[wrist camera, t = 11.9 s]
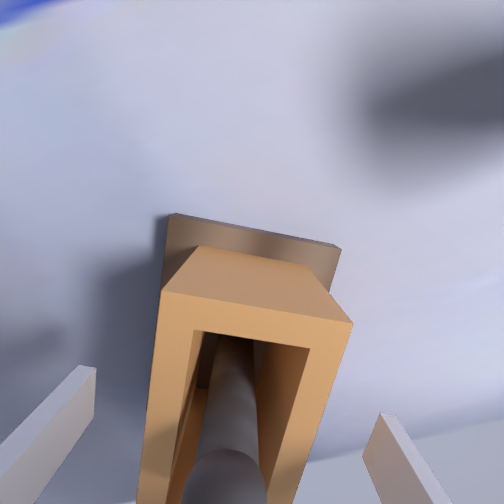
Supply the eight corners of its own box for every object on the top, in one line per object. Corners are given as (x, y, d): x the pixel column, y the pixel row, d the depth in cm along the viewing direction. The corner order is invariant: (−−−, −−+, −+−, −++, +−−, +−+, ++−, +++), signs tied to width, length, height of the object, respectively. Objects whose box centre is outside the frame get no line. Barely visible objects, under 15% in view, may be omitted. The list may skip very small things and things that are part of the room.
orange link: (199, 245, 15) (161, 290, 8) (306, 265, 16) (353, 323, 9) (175, 398, 18) (133, 525, 11) (267, 411, 18) (279, 540, 12)
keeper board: (333, 244, 17) (529, 365, 5) (284, 413, 20) (334, 707, 9) (176, 213, 16) (-8, 273, 4) (153, 394, 20) (18, 692, 8)
